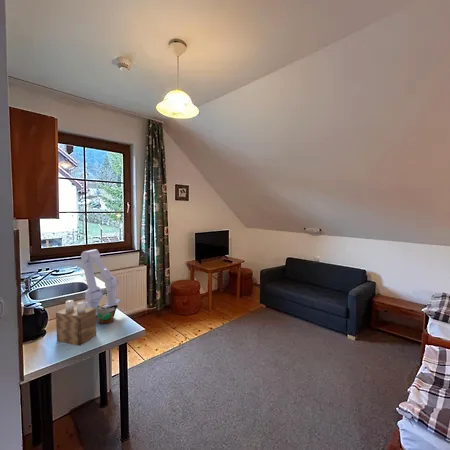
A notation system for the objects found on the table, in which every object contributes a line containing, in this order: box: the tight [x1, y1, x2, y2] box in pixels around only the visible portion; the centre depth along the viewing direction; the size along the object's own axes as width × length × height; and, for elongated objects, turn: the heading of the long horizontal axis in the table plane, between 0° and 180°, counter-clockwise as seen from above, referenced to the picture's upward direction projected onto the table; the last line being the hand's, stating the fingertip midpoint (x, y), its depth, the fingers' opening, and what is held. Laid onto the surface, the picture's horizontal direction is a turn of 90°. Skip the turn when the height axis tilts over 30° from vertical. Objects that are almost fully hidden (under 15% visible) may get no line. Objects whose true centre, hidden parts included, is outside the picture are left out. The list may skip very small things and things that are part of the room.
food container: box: [96, 305, 115, 325], centre depth 170 cm, size 12×6×10 cm, turn 76°
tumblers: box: [65, 299, 86, 313], centre depth 149 cm, size 12×4×5 cm, turn 73°
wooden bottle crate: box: [55, 304, 97, 347], centre depth 150 cm, size 16×12×16 cm
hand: (112, 316), depth 178 cm, fingers closed
